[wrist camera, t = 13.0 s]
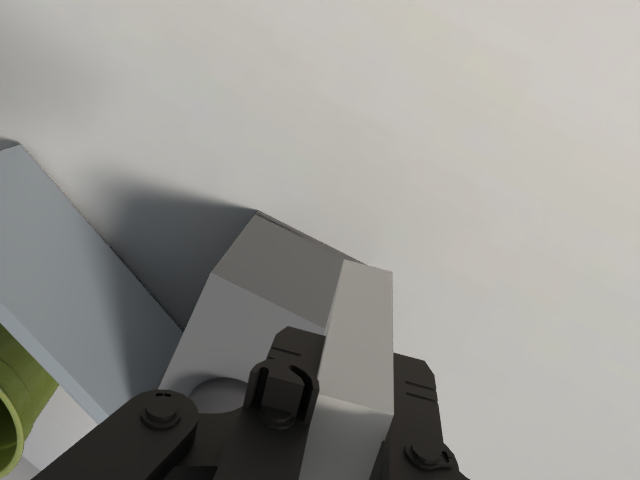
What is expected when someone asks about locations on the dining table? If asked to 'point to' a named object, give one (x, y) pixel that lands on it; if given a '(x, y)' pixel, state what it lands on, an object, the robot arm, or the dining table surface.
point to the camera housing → (252, 310)
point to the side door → (75, 296)
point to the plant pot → (19, 398)
